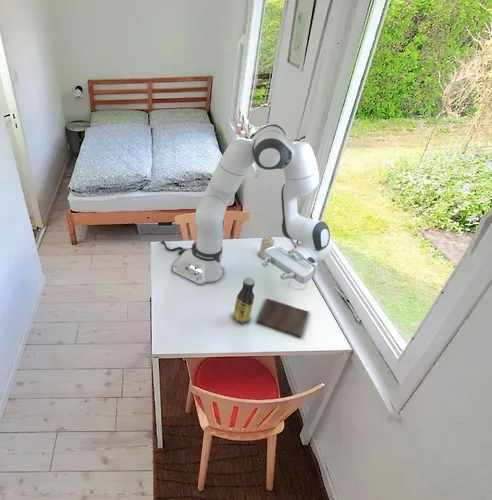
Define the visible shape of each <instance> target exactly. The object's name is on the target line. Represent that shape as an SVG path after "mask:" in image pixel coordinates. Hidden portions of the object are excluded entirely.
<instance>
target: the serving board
mask: <svg viewBox="0 0 492 500" xmlns="http://www.w3.org/2000/svg"><path fill="white" fill-rule="evenodd" d="M308 313H309V311H308V310H304V309H301V308H299V307H295V306H292V305H288V304H286V303H282V302H279V301H276V300H273V299H270V298H267V299H266V300H265V303H264V305H263V307H262V310H261V312H260V314H259V317H258V319H257V321H256V322H257V324H259V325H262V326H265V327H268V328H272V329H274V330H276V331H280V332H281V333H282V332H283V333H285V334H288V335H292V336H294V337H297V338H301V336H302V333H303V330H304V326H305V324H306V320H307V317H308Z"/></svg>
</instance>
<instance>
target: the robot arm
mask: <svg viewBox="0 0 492 500" xmlns="http://www.w3.org/2000/svg"><path fill="white" fill-rule="evenodd" d="M254 163H255V164H256V165H257V166H258V168H260V169H262V170H267V171H272V170H282V169H283V174H284V179H285V183H284V184H283V185H282V187H281V190H280V191H281V194H280V195H281V196H280V199H281V213H282V223H281V232H282V234H283V236H284V237H285V238H286V239H288V240H294V241H298V242H301V244H300V245H297V246H296V247H294V248H291V249H288V250H286V249H284V248H283V247H280V246H273V247H271V248H268V249H265V250H264V253H263V258H262V259H264V260H262V262H261V266H262V267H264V268H266V267H268V266H269V263H270V265H272V266H274V267H275V268H277V269H278V270H280V271H282V272H283V273H282V274H280V276H279V277H280V278H279V279H281V280H282V281H285V280H294V281H296V282H298V283H299V284H306V283H308V282H309V281H310V280H311V279H312V278H314V277H315V276H316V273H317V271H318V265H319V262H322V261H323V260H325V259H326V258H327V257H328V256H329V255H331V253H332V252H333V248H334V247H333V243H332V241H331V239H330V238H331V232H330V227H329V226H328V224H327V223H326V222H325V221H322V220H319V219H314V218H310V217H306V216H303V215H301V214H300V213H299V211H298V198H302V197H306V196H307V195H309V194H311V193H312V192H314V191H315V190H316V188H318V185H319V183H320V172H319V167H318V162H317V159H316V156H315V153H314V150H313V148H312V146H311V144H310V143H308V142H307V141H294V142H290V141H288V140H287V134H286V132H285V130H284V128H282V127H281V125H278V124H275V123H269V124H268V123H267V124H266V125H264V126H262V127H261V128H259V129H258V130H257V131H255V132H254V133H252V134H251V135H250V137H249V139H247V138H244V137H236V138H234V139H233V140H232V141H231V142H230V143H229V145H227V147H226V149H225V150H224V152H223V153H222V155H221V157H220V159H219V161H218V163H217V166H216V168H215V170H214V172H213V174H212V176H211V178H210V180H209V182H208V184H207V186H206V189H205V190H204V192H203V195H202V197H201V199H200V201H199V203H198V205H197V208H196V210H195V213H194V214H195V215H194V222H195V226H196V238H195V239H194V241H193V243H192V245H191V247H190V248H183V247H181V246H177V247H174V248H169V247H168V246H167V244H166V242H165V241H164V240H161V241H160V243H162V244H163V246H164V248H165V250H167V251H169V252H174V251H177V250H180V251H179V252H178V254H179V255H180V257H178V258H177V259H176V260H175V262H174V263H173V266H172V272H174V273H175V274H177V275H179V276H181V277H183V278H185V279H188V280H190V281H191V282H194V283H195V284H197V285H203V284H205V283H212V282H216V281H218V280H220V279H221V278H222V276H223V269H222V268H223V267H222V258H223V240H224V220H225V219H224V218H225V215H226V212H227V209H228V206H229V204H230V202H232V199H233V197H234V196H235V195H236V193H237V192H238V190H239V189H240V187H241V185H242V182H243V181H244V179H245V177H246V175H247V173H248V171H249V170H250V168H251V167H252V165H253V164H254Z"/></svg>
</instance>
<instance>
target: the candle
mask: <svg viewBox="0 0 492 500" xmlns="http://www.w3.org/2000/svg"><path fill="white" fill-rule="evenodd" d="M274 245H275V240H274V238H272V236H267V235H266V236H265V237H263V238H261V243H260V248H259V256H260V257H261V258H262V259H264V258H263V253H264V250H265V249H268V248H271V247H274Z"/></svg>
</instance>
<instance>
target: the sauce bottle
mask: <svg viewBox="0 0 492 500" xmlns="http://www.w3.org/2000/svg"><path fill="white" fill-rule="evenodd" d="M255 285H256V283H255V279H254V278H251V277H246V278H245V277H244V279H243V281H242V287H241V289H240V291H239V292H238V294H237V295H236V299H235V304H234V308H233V309H234V310H233V319H234V321H235V322H237V323H238V324H241V325H242V324H246V323H248V322H249V320H250V318H251V314H252V309H253V305H254V300H255V293H254V287H255Z"/></svg>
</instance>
